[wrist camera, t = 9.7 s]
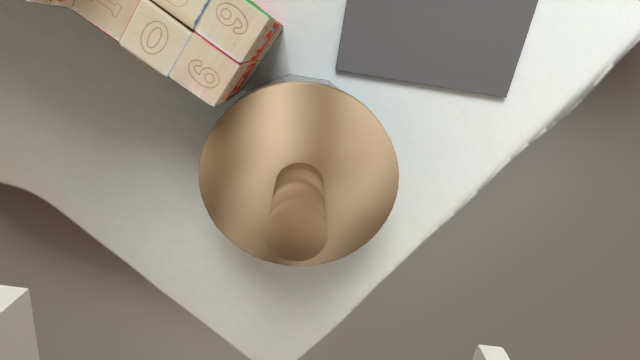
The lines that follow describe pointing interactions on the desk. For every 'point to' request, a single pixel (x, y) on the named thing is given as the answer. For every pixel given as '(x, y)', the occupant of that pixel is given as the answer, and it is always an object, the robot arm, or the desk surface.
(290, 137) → the lid
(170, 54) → the stack of blocks
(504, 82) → the mat
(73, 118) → the desk surface
